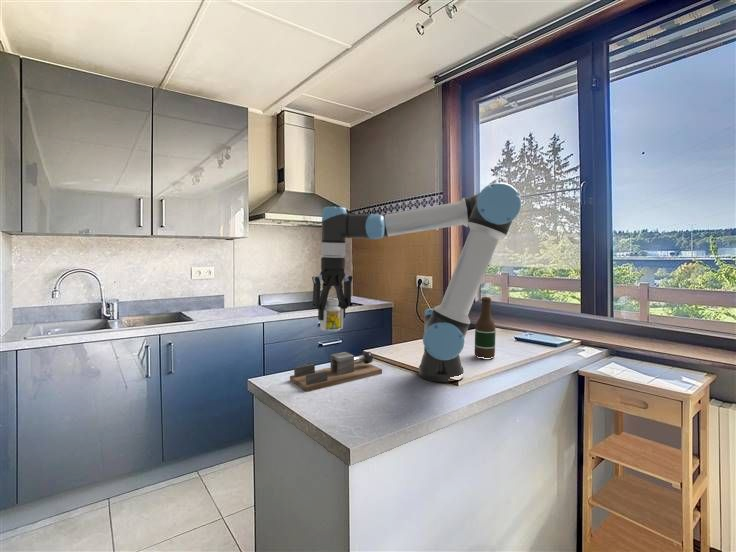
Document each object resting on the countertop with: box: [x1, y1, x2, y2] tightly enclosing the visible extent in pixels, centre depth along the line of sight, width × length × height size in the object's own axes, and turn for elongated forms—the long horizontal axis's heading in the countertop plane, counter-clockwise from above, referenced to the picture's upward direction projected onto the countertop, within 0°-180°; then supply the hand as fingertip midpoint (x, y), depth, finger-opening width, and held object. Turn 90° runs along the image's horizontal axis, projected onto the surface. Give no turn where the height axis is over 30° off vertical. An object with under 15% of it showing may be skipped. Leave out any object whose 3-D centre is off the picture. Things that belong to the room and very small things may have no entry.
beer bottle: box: [474, 296, 497, 358], centre depth 154 cm, size 8×8×24 cm
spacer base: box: [289, 351, 383, 393], centre depth 131 cm, size 12×29×7 cm, turn 126°
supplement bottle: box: [324, 298, 341, 333], centre depth 124 cm, size 5×5×10 cm
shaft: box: [336, 351, 374, 366], centre depth 135 cm, size 4×13×4 cm, turn 126°
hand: (331, 328), depth 124 cm, fingers closed on supplement bottle, 5 cm apart
